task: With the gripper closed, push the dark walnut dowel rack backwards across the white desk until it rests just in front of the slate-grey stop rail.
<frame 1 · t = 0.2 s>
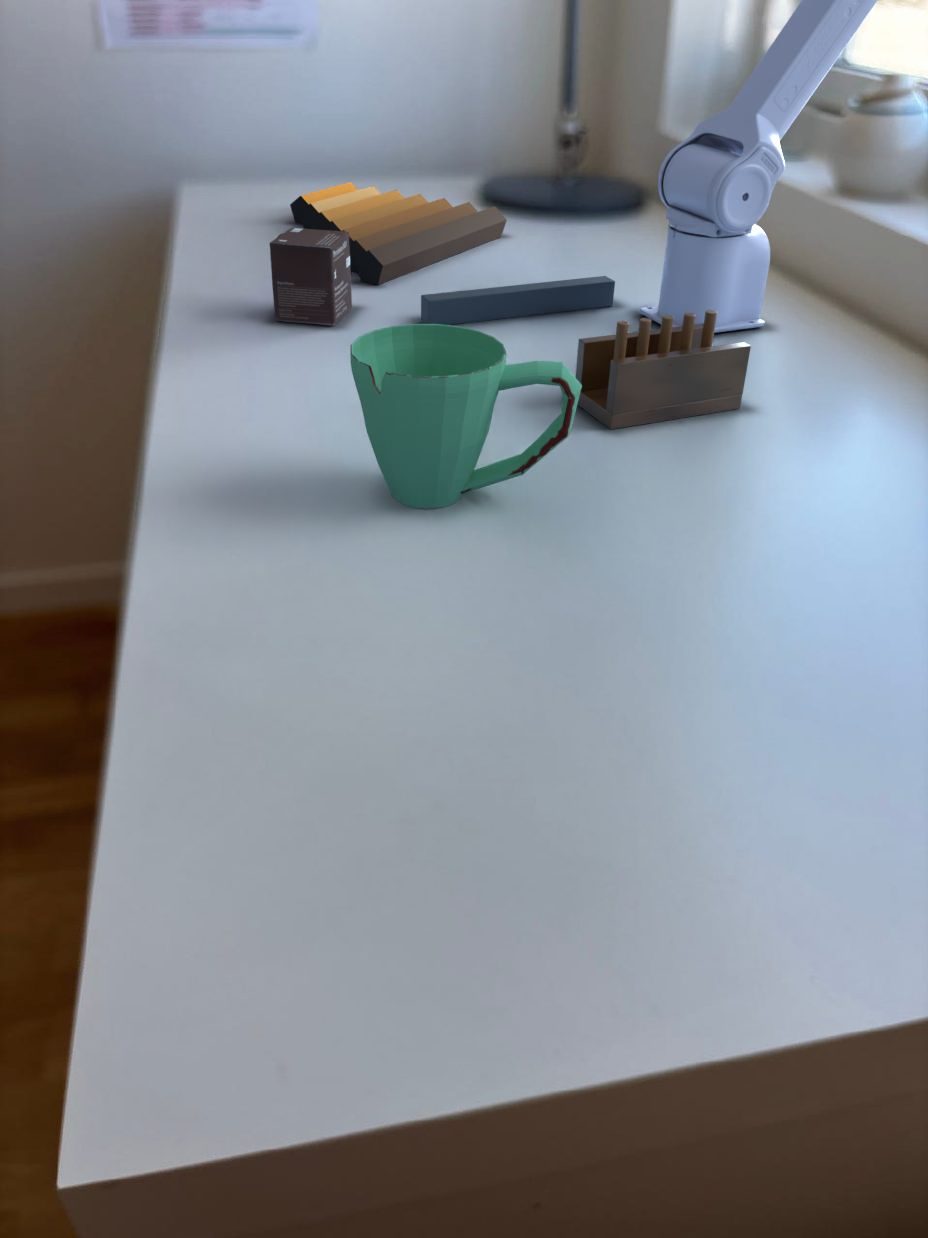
box: (314, 317, 105), on the table
ridged wooden panel: (359, 244, 128), on the table
rack: (656, 405, 88), on the table
mug: (462, 496, 74), on the table
stop rail: (519, 313, 107), on the table
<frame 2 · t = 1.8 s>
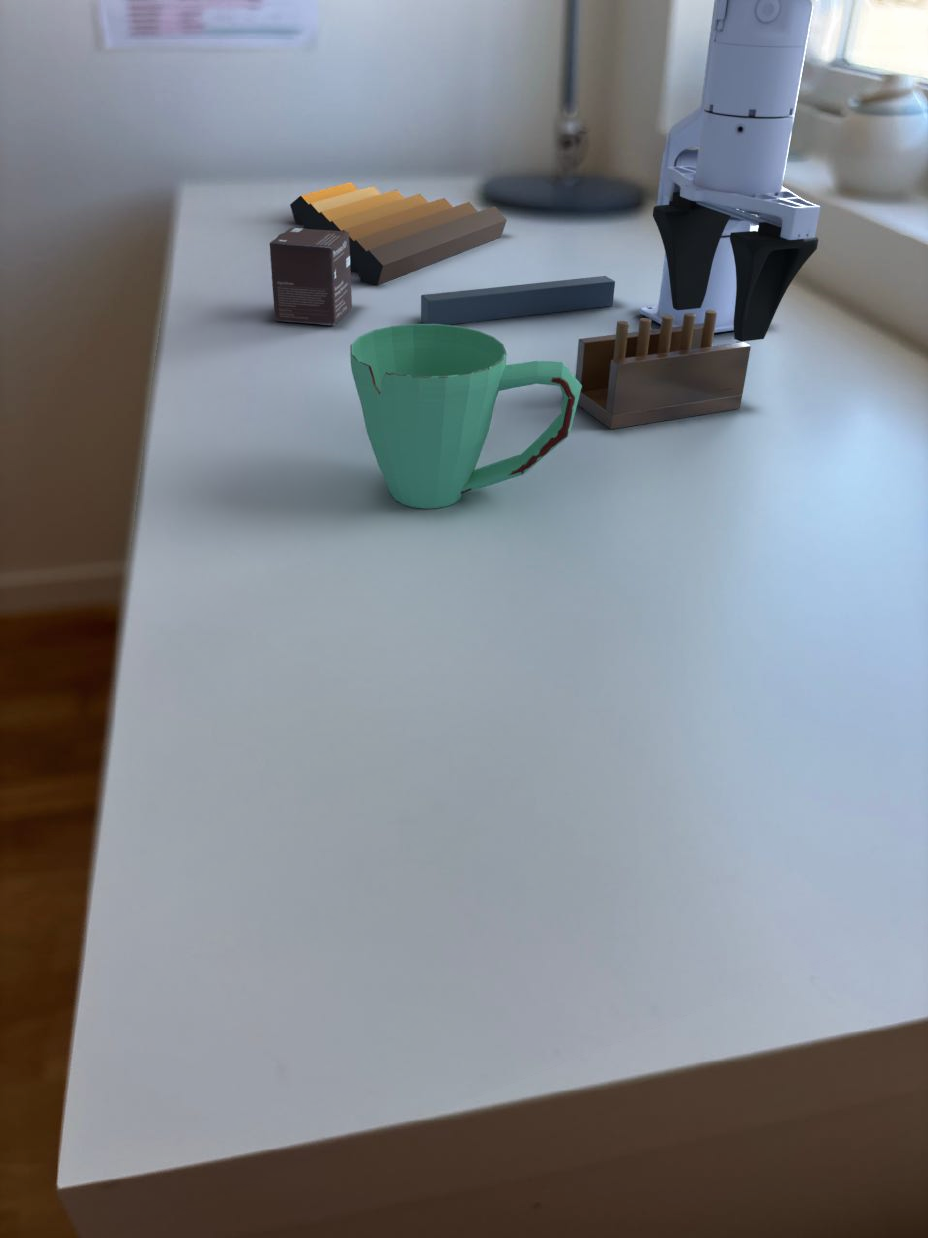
hand: (716, 322, 77), 9 cm above the table, tool pointing down, fingers open, 7 cm apart
nothing on the table moved.
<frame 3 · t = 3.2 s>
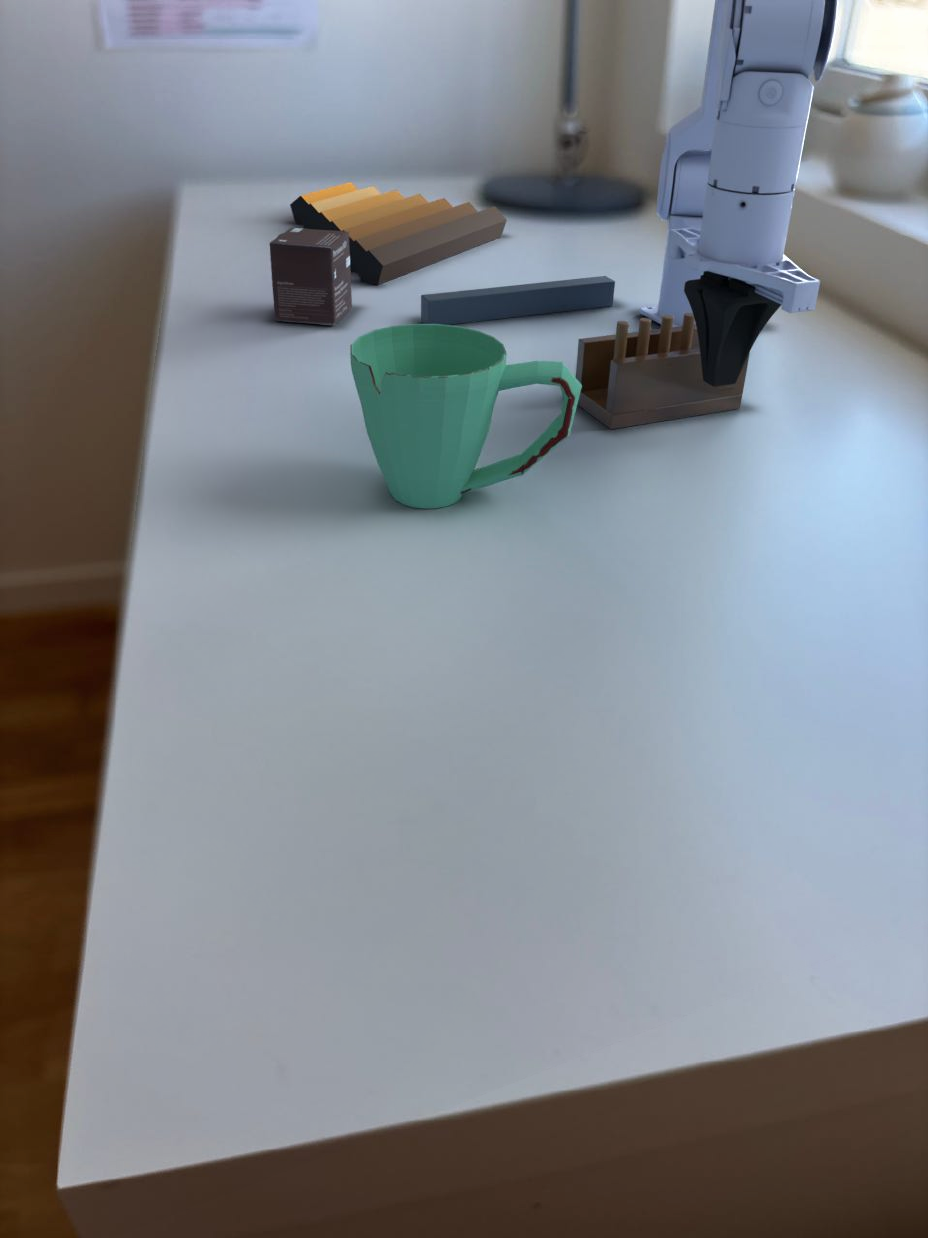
hand: (719, 382, 80), 5 cm above the table, tool pointing down, fingers closed
nothing on the table moved.
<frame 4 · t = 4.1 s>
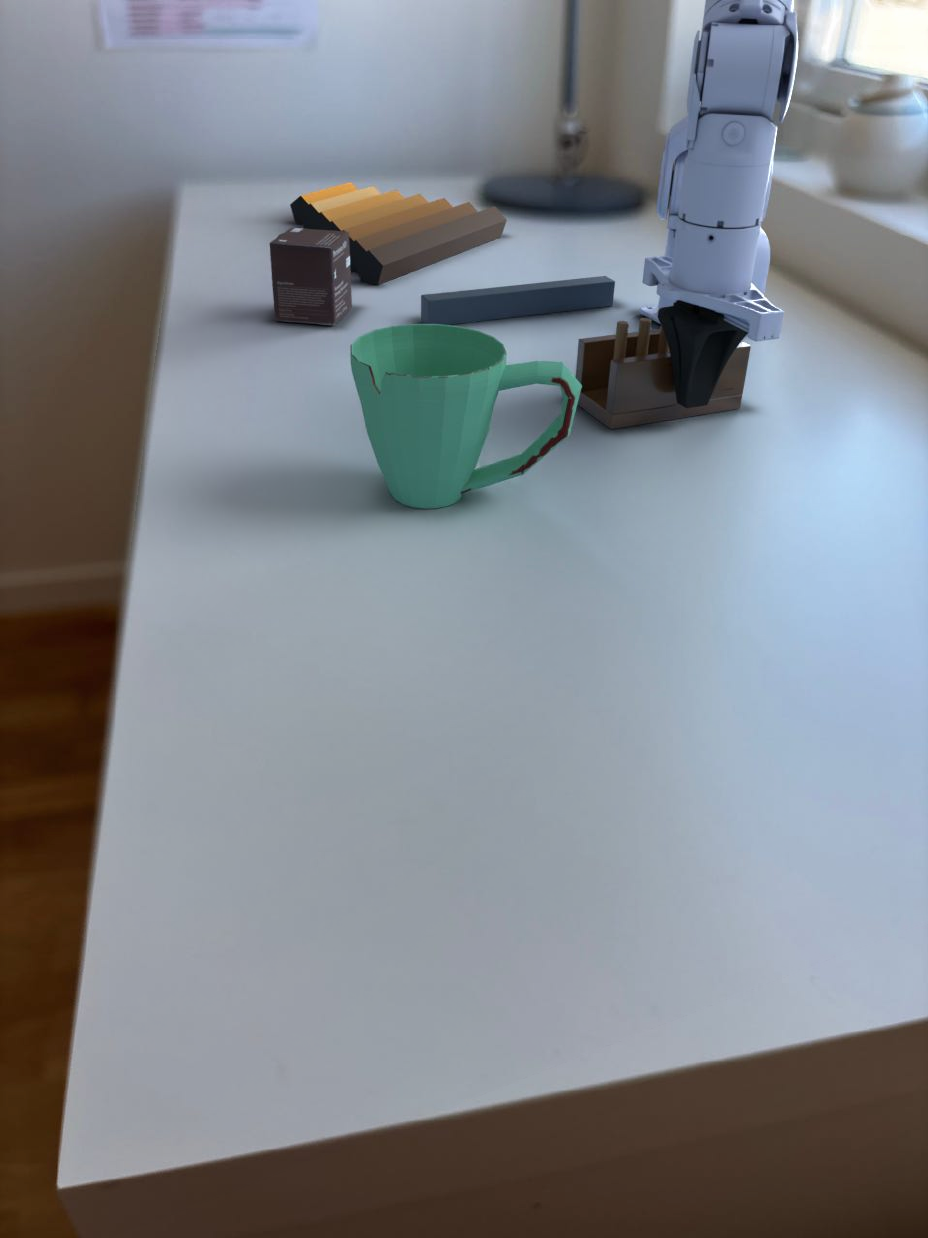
hand: (692, 403, 83), 2 cm above the table, tool pointing down, fingers closed
rack: (656, 405, 88), on the table, touching gripper
everything else where it was.
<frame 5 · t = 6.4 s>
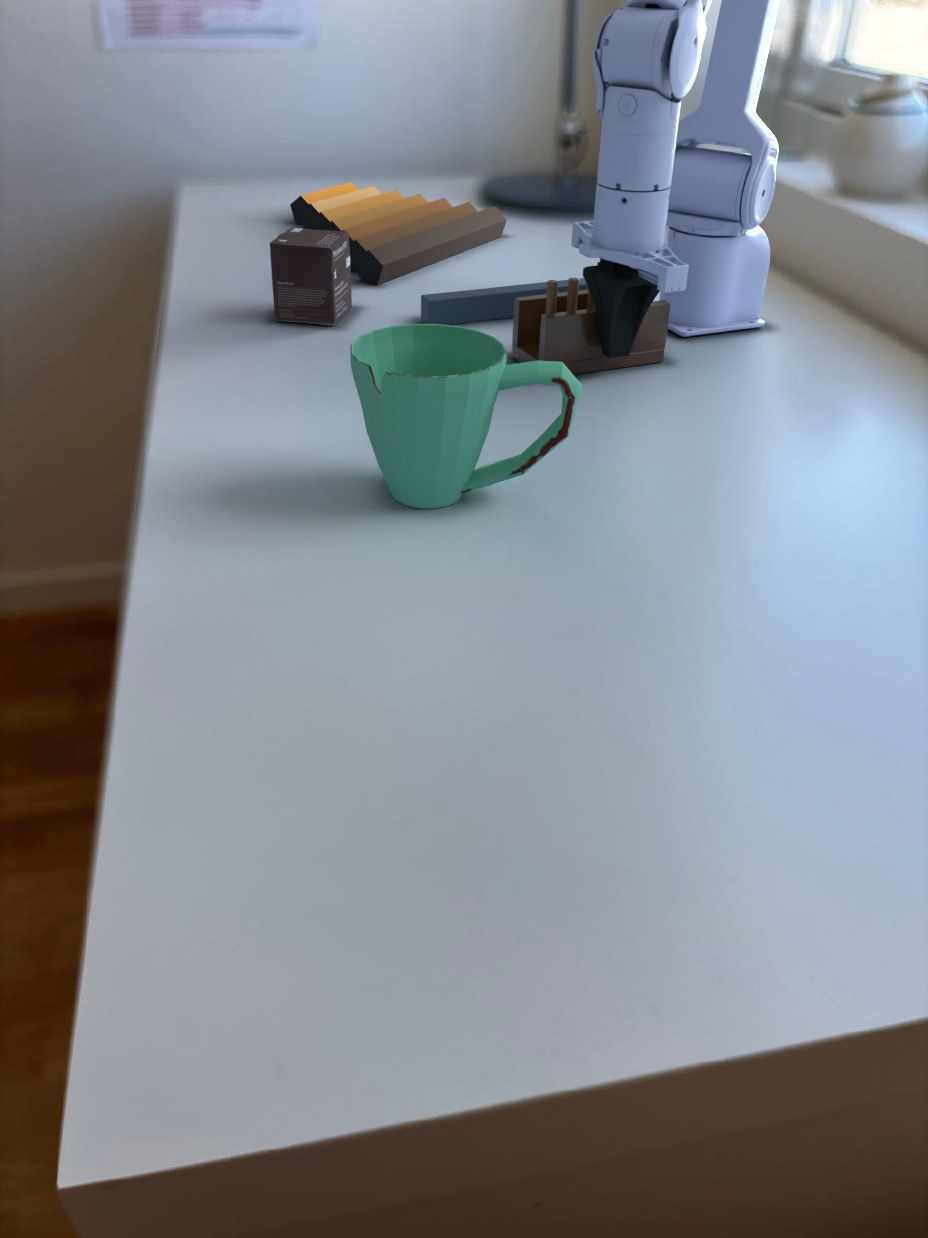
hand: (615, 354, 92), 2 cm above the table, tool pointing down, fingers closed
rack: (587, 359, 96), on the table, touching gripper
everything else where it was.
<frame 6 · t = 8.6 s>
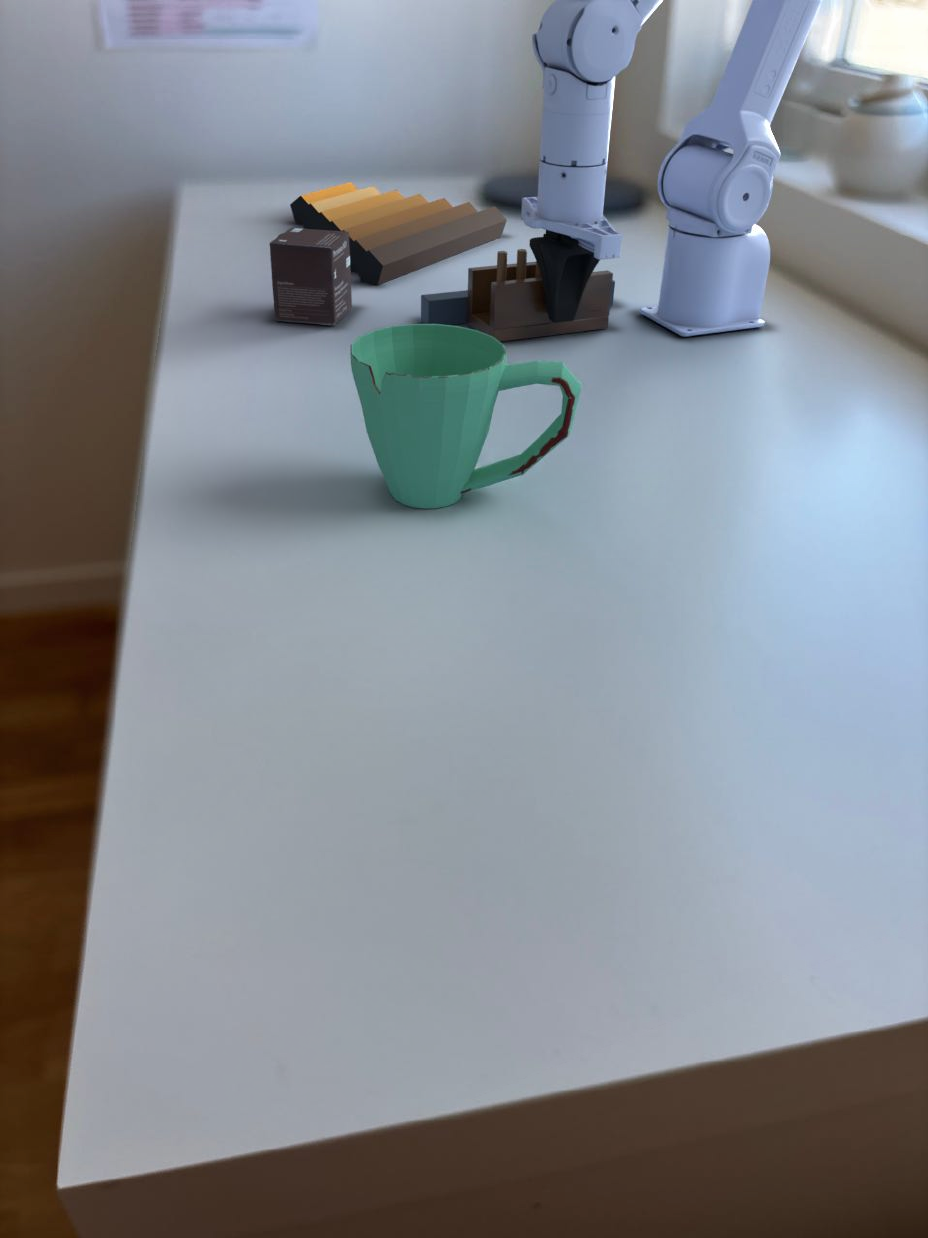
hand: (561, 320, 99), 2 cm above the table, tool pointing down, fingers closed
rack: (537, 325, 104), on the table, touching gripper
everything else where it was.
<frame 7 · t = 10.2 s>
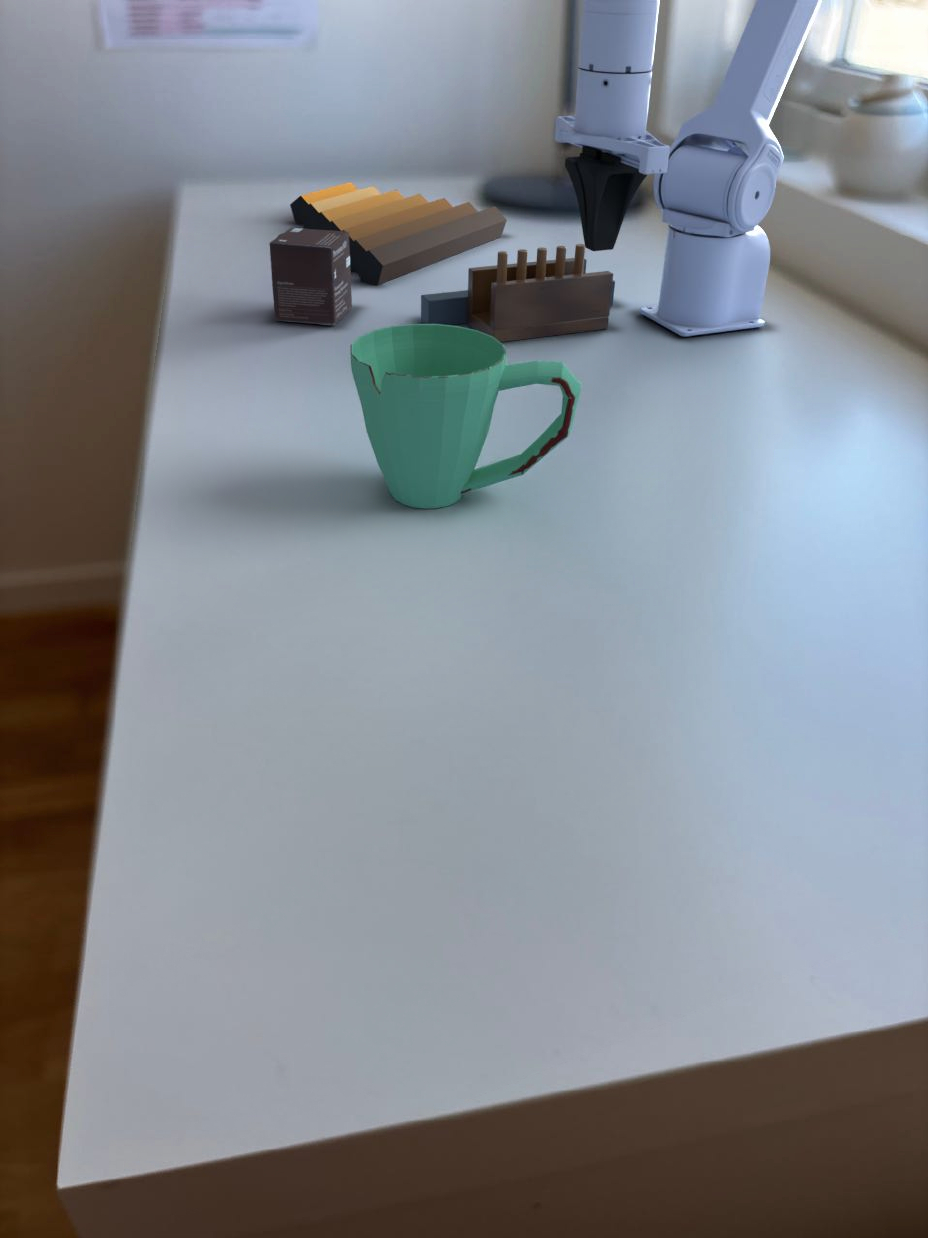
hand: (599, 248, 92), 9 cm above the table, tool pointing down, fingers closed
rack: (537, 325, 104), on the table
everything else where it was.
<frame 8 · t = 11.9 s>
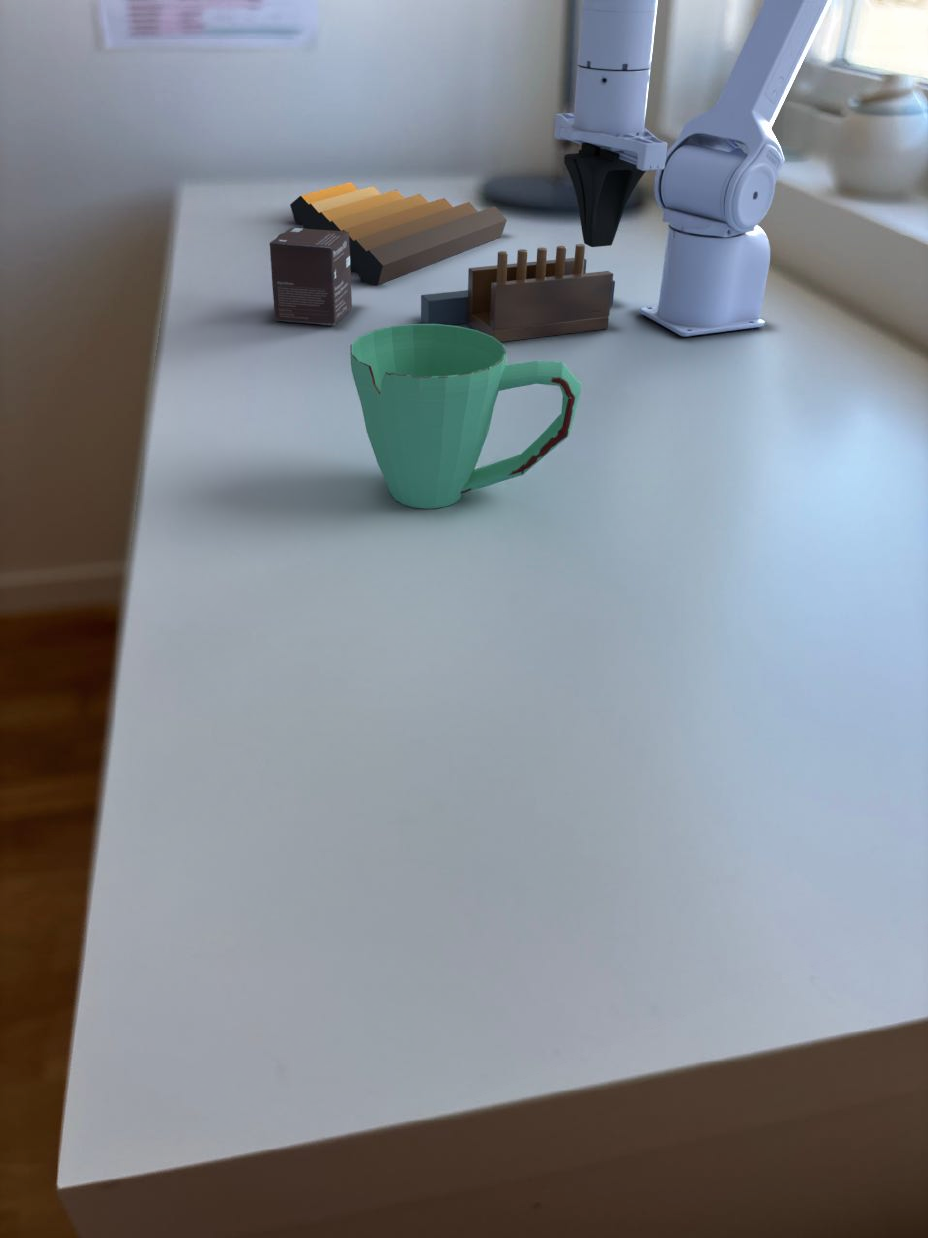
hand: (597, 244, 93), 9 cm above the table, tool pointing down, fingers closed
nothing on the table moved.
at the end: rack inside the target area on the table beside the stop rail (0.9 cm from its centre), on the table; rack moved 20.9 cm from its start; rack tilted 0° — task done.
